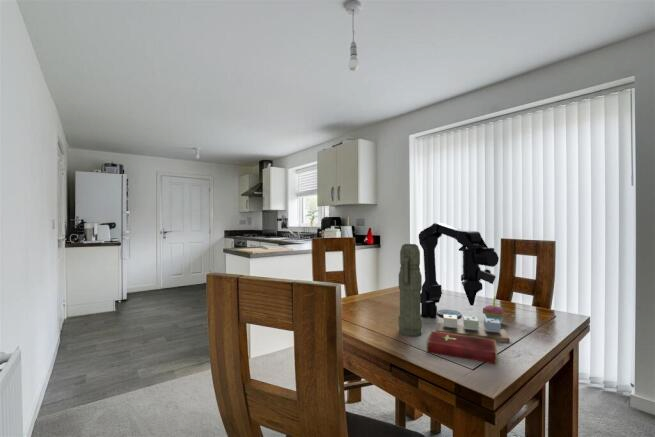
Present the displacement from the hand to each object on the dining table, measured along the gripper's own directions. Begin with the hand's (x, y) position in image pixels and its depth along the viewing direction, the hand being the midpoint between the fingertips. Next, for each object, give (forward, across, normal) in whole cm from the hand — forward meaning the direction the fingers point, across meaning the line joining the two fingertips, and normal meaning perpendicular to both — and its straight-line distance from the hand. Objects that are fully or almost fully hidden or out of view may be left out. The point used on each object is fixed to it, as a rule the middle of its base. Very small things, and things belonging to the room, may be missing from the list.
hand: (470, 303), depth 124 cm
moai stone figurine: (+12, -7, +23) cm, 27 cm away
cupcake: (+12, +19, -10) cm, 25 cm away
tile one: (+9, 0, +8) cm, 12 cm away
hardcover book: (+13, -19, +5) cm, 23 cm away
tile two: (+9, 0, 0) cm, 9 cm away
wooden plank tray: (+12, 0, 0) cm, 12 cm away
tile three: (+9, 0, -7) cm, 12 cm away
